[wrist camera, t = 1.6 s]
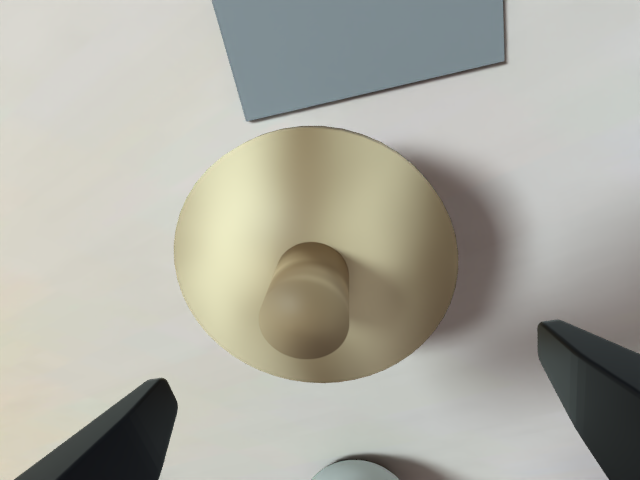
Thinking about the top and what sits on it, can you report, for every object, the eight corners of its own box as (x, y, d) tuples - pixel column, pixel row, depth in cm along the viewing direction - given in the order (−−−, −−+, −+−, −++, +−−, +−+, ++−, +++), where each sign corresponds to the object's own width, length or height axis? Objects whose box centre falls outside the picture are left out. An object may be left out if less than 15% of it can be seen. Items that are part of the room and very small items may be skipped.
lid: (441, 95, 14) (480, 101, 10) (460, 354, 18) (492, 433, 14) (142, 158, 15) (67, 185, 11) (228, 380, 20) (197, 456, 16)
